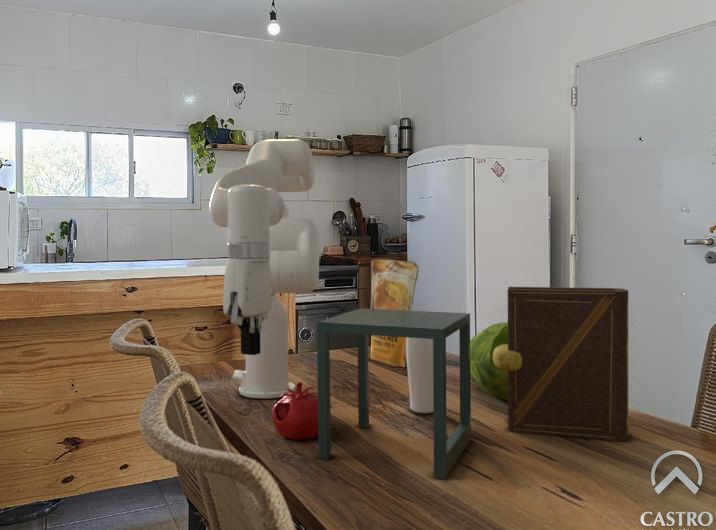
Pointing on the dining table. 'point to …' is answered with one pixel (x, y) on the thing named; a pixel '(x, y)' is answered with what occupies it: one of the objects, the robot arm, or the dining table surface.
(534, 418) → the book
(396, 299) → the pancake mix bag
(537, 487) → the dining table surface
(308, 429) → the pomegranate
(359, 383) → the bench
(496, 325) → the lettuce
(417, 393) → the white paper cup
